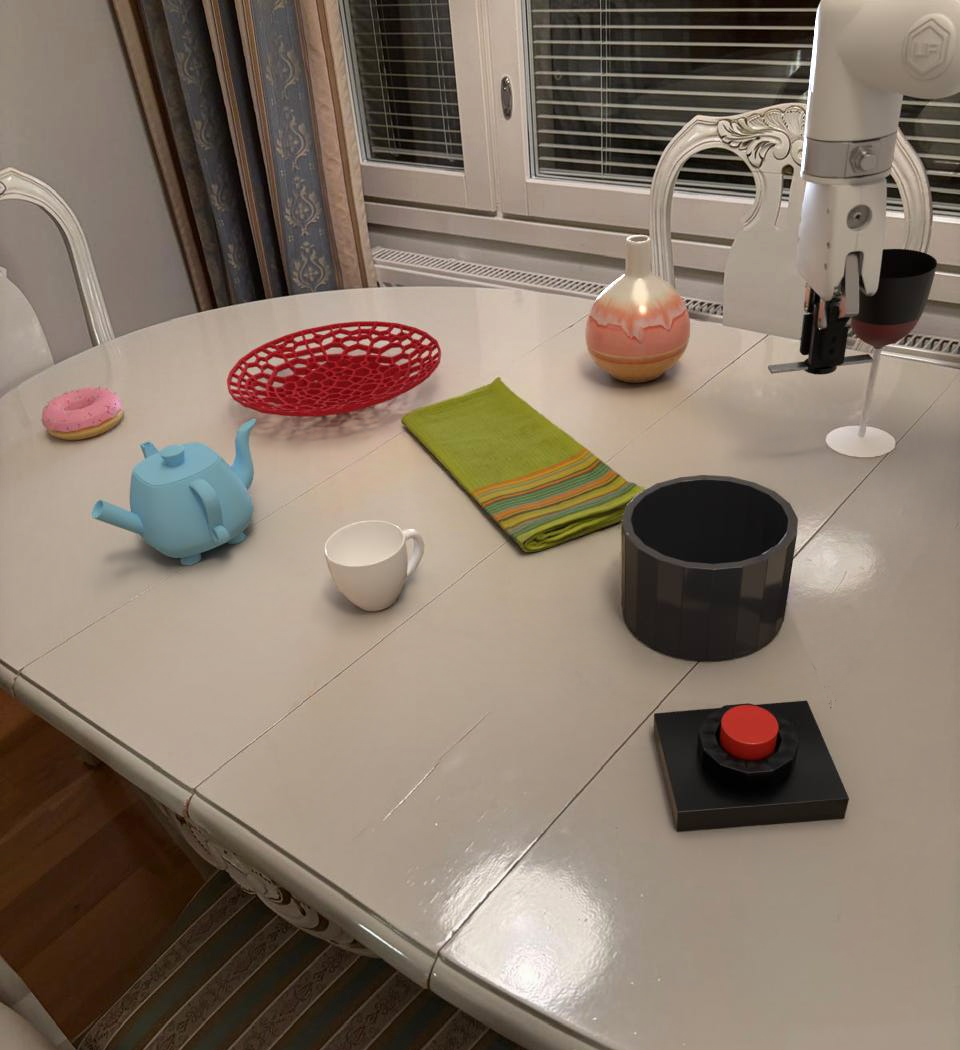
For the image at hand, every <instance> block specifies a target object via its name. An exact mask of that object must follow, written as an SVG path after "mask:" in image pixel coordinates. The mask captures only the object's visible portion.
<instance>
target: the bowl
mask: <svg viewBox="0 0 960 1050" xmlns="http://www.w3.org/2000/svg"><path fill="white" fill-rule="evenodd" d="M362 327H367V328H362ZM368 327H369V328H368ZM370 327H371V328H370ZM378 327H379V328H386V329H384V330H378V329H377V328H378ZM346 328H357V329H353V330H348V329H346ZM394 329H399V332H398V333H397V334H395V333H392V332H393V330H394ZM327 331H329V332H327ZM405 331H406V332H405ZM321 332H327V333H325V334H321ZM407 332H408V333H407ZM319 333H320V334H319ZM310 334H311V335H313V337H312V338H306V335H310ZM339 334H341V335H345V336H343V337H337V335H339ZM415 334H416V335H418V336H421V337H420V338H419V339H416V338H413V337H412V336H414V335H415ZM373 336H375V337H373ZM299 337H302V340H299V341H297V340H295V339H296V338H299ZM330 338H332V340H331V342H328V343H326V344H323V342H324V340H327V339H330ZM426 339H427V340H428V341H429V343H428V344H423V342H424V341H425V340H426ZM364 340H369V344H368V345H367V344H364V343H360V342H361V341H364ZM407 340H408V341H410V343H407V344H405V345H403V344H402V343H403V342H405V341H407ZM350 341H351V342H354V344H351V345H346V344H345V343H347V342H350ZM381 341H382V342H383V341H384V342H389V343H387V344H384V345H383V346H381V347H377V346H376V347H375V344H376V343H378V342H381ZM355 342H356V343H355ZM289 344H293V345H292V346H288V345H289ZM311 344H316V345H318V346H315V347H310V345H311ZM302 346H305V349H301V350H297V349H298V347H302ZM334 348H335V349H341V350H342V352H341V353H328V352H327V351H329V350H331V349H334ZM397 348H399V349H400V350H401V352H400V353H398V354H395V355H393V356H389V355H383V354H384V353H386V352H387V351H390V350H391V349H397ZM269 349H272V350H273V351H271V350H269ZM411 349H412V351H411V352H409V353H406V352H407V351H409V350H411ZM296 350H297V351H296ZM358 350H359V351H362V352H365V354H359V355H358V354H357V355H351V354H349V353H352V352H354V351H358ZM435 350H437V352H436V353H435V354H433V352H434V351H435ZM426 352H428V354H427V355H426V356H424V357H422V356H423V354H425V353H426ZM260 353H264V354H266V356H260V355H258V354H260ZM320 353H321V354H320ZM315 354H316V355H315ZM317 354H318V355H317ZM304 356H309V357H307V358H302V357H304ZM253 357H254V358H255V359H254V361H252V362H251V361H250V362H248V361H249V360H250V359H251V358H253ZM414 357H415V358H414ZM273 358H277V359H281V360H283V361H284V362H283V363H281V364H278V365H273V364H271V363H269V361H270V360H271V359H273ZM289 359H290V360H289ZM441 359H442V350H441V347H440V344H439V341H438V340H437V339H436V338H434V337H433V336H432V335H431V334H430V333H428V332H426V331H424V330H422V329H419V328H417V327H414V326H411V325H406V324H402V323H399V322H390V321H389V322H388V321H377V320H372V321H371V320H369V321H367V320H365V321H364V320H363V321H362V320H361V321H360V320H359V321H358V320H357V321H349V322H338V323H331V324H326V325H321V326H316V327H315V326H314V327H310V328H306V329H301V330H298V331H296V332H292V333H289V334H285V335H283V336H280V337H278V338H276V339H273V340H271V341H268V342H266V343H264V344H261V345H259V346H258V347H256V348H253V349H251V350H250V351H249V352H248V353H247V354H245V355H244V356H242V357H241V358H240V359H239V360H238V361H237V362H236V363H235V365H233V367H232V368H231V369H230V370H229V373H228V375H227V378H226V385H227V391H228V393H229V395H230V396H231V398H232V399H233V400H234V401H235V402H237V403H238V404H240V405H241V406H243V407H244V408H246V409H247V408H248V409H250V410H252V411H254V412H255V411H256V412H258V413H261V414H267V415H275V416H276V415H277V416H282V417H299V418H300V417H302V418H304V417H306V418H307V417H310V418H311V417H324V416H325V417H327V416H333V415H334V416H335V415H342V414H348V413H352V412H353V413H354V412H357V411H360V410H364V409H368V408H370V407H375V406H376V405H379V404H382V403H385V402H388V401H390V400H392V399H395V398H396V397H399V396H401V395H403V394H405V393H407V392H409V391H411V390H413V389H415V388H416V387H418V386H419V385H421V384H422V383H424V382H425V381H426V380H427V379H429V378H430V377H431V376H432V374H433V373H434V372H435V371H436V369H437V368H438V367H439V365H440V363H441ZM401 360H407V361H406V362H404V363H401V364H397V362H399V361H401ZM261 362H264V364H260V363H261ZM321 363H322V364H321ZM416 364H417V365H416ZM242 365H243V366H242ZM296 365H301V366H299V367H296ZM251 368H257V369H259V370H260V372H258V373H255V374H251V373H250V372H249V371H248V370H249V369H251ZM287 369H289V370H290V371H291V372H292V374H289V375H286V376H280V375H278V373H280V372H283V371H285V370H287ZM266 370H271V374H270V373H268V372H267V373H266V372H265V371H266ZM238 371H241V372H240V373H239V374H237V372H238ZM416 372H417V373H416ZM414 373H415V374H414ZM411 374H412V375H411ZM245 377H248V378H245ZM233 379H236V381H233ZM261 379H266V380H267V381H266V382H264V381H261ZM274 383H278V384H281V386H277V387H276V386H274ZM231 386H232V387H234V388H235V389H234V388H231ZM257 387H260V388H263V389H257ZM236 388H237V389H236ZM264 389H265V390H264ZM237 395H238V396H237ZM260 396H262V397H260ZM275 404H276V405H275Z"/></svg>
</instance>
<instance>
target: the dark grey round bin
mask: <svg viewBox="0 0 960 1050" xmlns="http://www.w3.org/2000/svg"><path fill="white" fill-rule="evenodd" d="M644 489H645V490H644V491H642V492H640V493H638V494H637V495H636V496H635V497H634V498H633V499H632V500H631V501H630V502H629V503H628V504H627V505H626V508H625V511H624V514H623V517H622V521H621V532H620V533H621V538H620V539H621V540H620V541H621V542H620V543H621V546H620V547H621V549H620V550H621V552H620V554H621V555H620V557H621V559H620V561H621V562H620V564H621V566H620V568H621V569H620V570H621V571H620V574H621V575H620V577H621V579H620V583H621V584H620V589H621V590H620V591H621V593H620V603H621V604H620V606H621V611H622V612H621V613H622V619H623V621H624V624H625V626H626V627H627V629H628V630H629V632H630V633H631V634H632V635H633V636H634V637H635V638H636V640H638V641H639V642H641V643H642V644H644V646H646V647H648V648H650V649H651V650H653V651H655V652H658V653H660V654H663V655H665V656H668V657H672V658H674V659H679V660H684V661H690V662H698V663H699V662H700V663H701V662H702V663H713V662H717V663H718V662H725V661H726V662H727V661H731V660H737V659H740V658H743V657H747V656H749V655H752V654H754V653H757V652H759V651H761V650H762V649H764V648H765V647H766V646H768V645H769V644H770V643H772V642H773V641H774V639H775V638H776V637H777V636H778V635H779V633H780V631H781V629H782V627H783V624H784V622H785V616H786V611H787V604H788V603H787V602H788V597H789V592H790V591H789V589H790V583H791V576H792V572H793V571H792V570H793V564H794V557H795V551H796V545H797V544H796V543H797V538H798V537H797V536H798V525H799V517H798V516H797V514H796V512H795V510H794V509H793V506H792V505H791V502H789V501H787V500H786V498H784V497H782V495H780V494H779V493H778V492H777V491H775V490H773V489H771V488H768V487H766V486H764V485H761V484H759V483H758V482H754V481H751V480H747V479H743V478H738V477H734V476H729V475H728V476H727V475H715V474H714V475H713V474H699V475H690V476H689V475H688V476H680V477H675V478H671V479H668V480H664V481H661V482H657V483H655V484H653V485H651V486H649V487H647V488H644Z"/></svg>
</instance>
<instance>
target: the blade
mask: <svg viewBox="0 0 960 1050" xmlns="http://www.w3.org/2000/svg"><path fill="white" fill-rule="evenodd" d="M839 304H840V302H834V303H830V306H829V310H830V309H831V307H832V306H837V305H839ZM819 307H820V301H819V302H817V303H815V306H814V314H813V322H812V331H811V339H810V347H809V355H807V356H808V357H807V358H806V359H804V360H803V361H795V362H785V363H778V364H769V365H768V366H767V369H768V371H769V372H770V374H781V373H788V372H789V373H791V372H799V371H804V372H806V373H808V374H811V375H828V374H832V373H834V372H836V371H837V368H838V367H843V366H851V365H859V364H867V363H868V364H869V363H871V362H873V358H872V356H871V355H870V354H869V353H865V354H857V355H848V356H845V357H844V362H843V364H841V365H837V366H829V367H820V368H812V367H811V366H810V364H809V361H810V352H811V344H812V336H813V328H814V327H815V326H818V316H819Z"/></svg>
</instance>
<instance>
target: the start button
mask: <svg viewBox="0 0 960 1050" xmlns="http://www.w3.org/2000/svg"><path fill="white" fill-rule="evenodd" d="M778 728H779V727H778V722H777V720H776V718H775V717H774V716H773V715H772V714H771V713H770V712H768V711H767V710H765V709H763V708H761V707H758V706H753V705H740V706H736V707H733V708H731V709H729V710H728V711H727V712H726V713H725V714H724V715H723V717H722V720H721V729H720V742H721V745H722V746H723V748H724V749H725V750H726V751H727V752H728V753H729V754H731V755H732V756H734V757H738V758H741V759H744V760H758V759H762V758H765V757H767V756H768V755H770V754H771V753H772V752H773V751H774V749H775V746H776V741H777V735H778Z"/></svg>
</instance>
